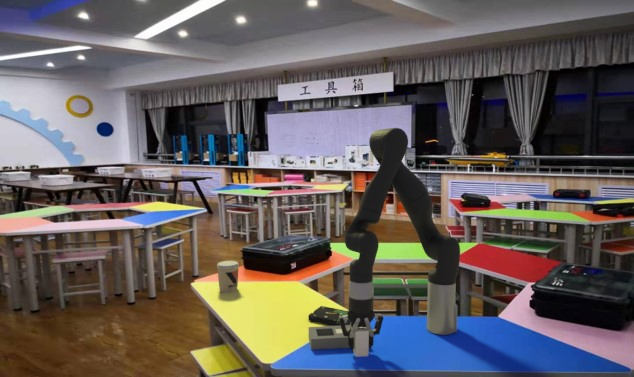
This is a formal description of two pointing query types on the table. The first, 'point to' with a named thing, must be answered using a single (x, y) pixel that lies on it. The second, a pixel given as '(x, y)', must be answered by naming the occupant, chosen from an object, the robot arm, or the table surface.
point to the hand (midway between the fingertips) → (360, 347)
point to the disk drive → (328, 316)
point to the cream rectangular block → (361, 342)
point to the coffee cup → (228, 276)
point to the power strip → (328, 337)
